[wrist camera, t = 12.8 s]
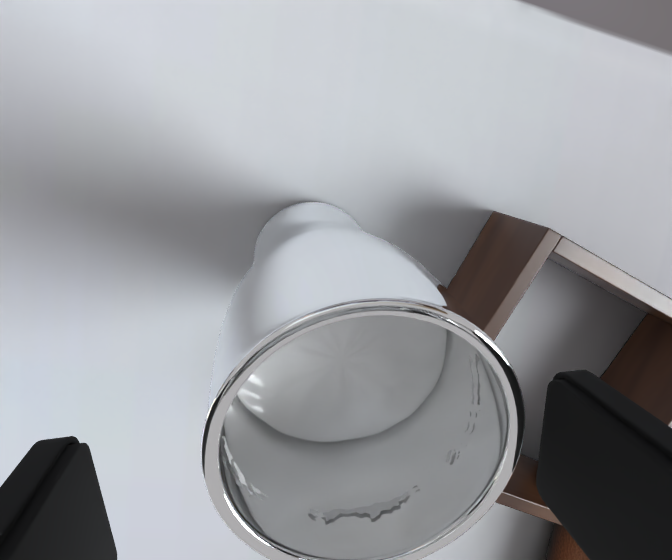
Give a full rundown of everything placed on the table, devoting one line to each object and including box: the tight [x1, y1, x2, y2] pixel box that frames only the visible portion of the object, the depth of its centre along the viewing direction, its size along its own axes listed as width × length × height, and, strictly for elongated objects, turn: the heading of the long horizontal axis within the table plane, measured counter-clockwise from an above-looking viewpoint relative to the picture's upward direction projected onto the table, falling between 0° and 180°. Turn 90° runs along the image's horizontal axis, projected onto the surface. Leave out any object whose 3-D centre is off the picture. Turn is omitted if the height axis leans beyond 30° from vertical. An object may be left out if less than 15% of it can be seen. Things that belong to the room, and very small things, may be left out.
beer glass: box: [201, 202, 525, 560], centre depth 15 cm, size 7×7×15 cm
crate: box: [447, 211, 672, 526], centre depth 24 cm, size 14×14×5 cm
